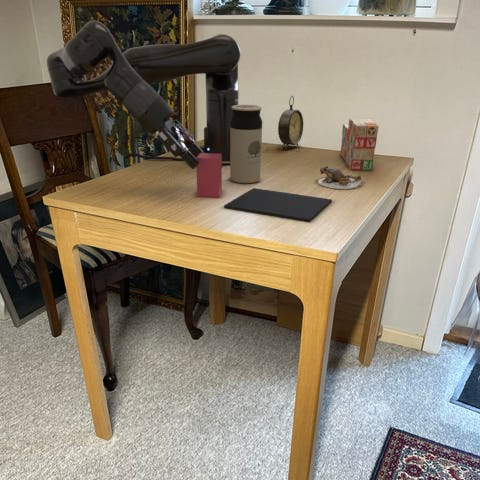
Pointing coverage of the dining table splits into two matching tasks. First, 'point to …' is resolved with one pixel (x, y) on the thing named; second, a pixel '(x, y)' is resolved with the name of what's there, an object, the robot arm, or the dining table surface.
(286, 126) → the alarm clock
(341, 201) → the dining table surface
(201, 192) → the block
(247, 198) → the mat
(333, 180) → the frog figurine
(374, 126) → the stack of blocks
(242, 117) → the travel mug
